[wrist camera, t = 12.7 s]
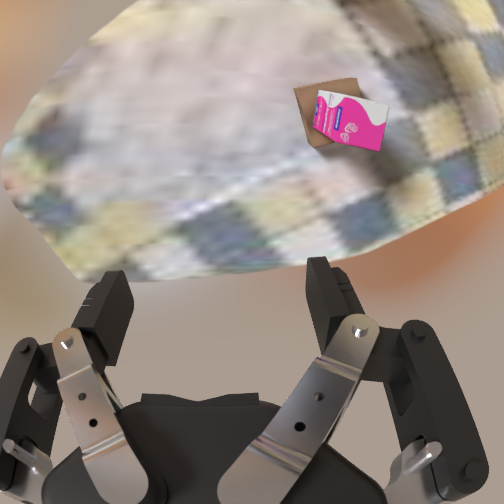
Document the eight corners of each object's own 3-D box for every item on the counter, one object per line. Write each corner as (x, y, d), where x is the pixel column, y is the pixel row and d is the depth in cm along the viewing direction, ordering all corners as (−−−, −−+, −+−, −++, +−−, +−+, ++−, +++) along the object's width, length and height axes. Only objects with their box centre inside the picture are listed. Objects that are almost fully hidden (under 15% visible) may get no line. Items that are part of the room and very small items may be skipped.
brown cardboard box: (292, 88, 40) (298, 89, 37) (347, 77, 39) (356, 78, 36) (307, 141, 45) (313, 147, 41) (359, 130, 44) (368, 134, 40)
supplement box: (316, 88, 37) (345, 92, 27) (354, 97, 37) (392, 106, 28) (309, 127, 40) (336, 143, 30) (347, 134, 40) (382, 153, 31)
